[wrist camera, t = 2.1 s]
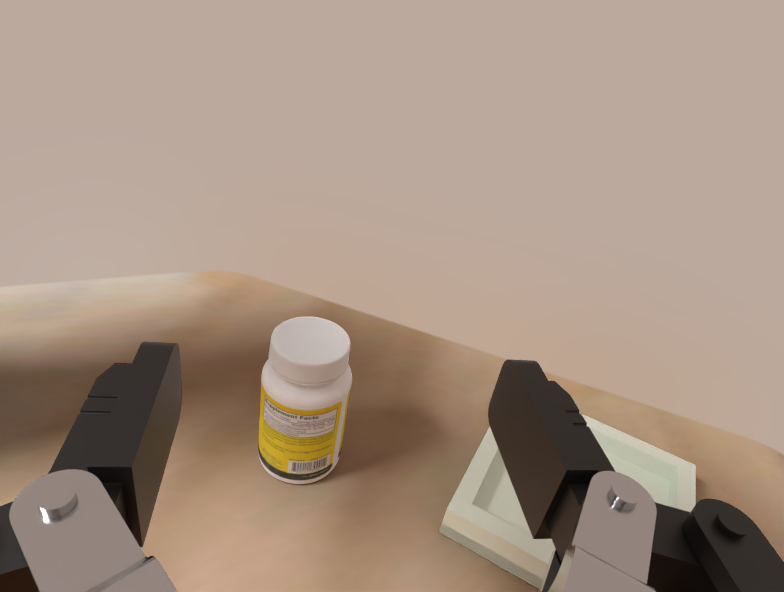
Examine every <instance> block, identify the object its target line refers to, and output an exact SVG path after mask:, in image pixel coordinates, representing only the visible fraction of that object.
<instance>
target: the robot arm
mask: <svg viewBox="0 0 784 592" xmlns="http://www.w3.org/2000/svg"><path fill="white" fill-rule="evenodd" d="M181 403H182V388H181V371H180V354H179V346H178V344H177V343H161V342H142V343H141V345H140V347H139V349H138V352H137V354H136V356H135V358H134V361H133V363H132V364H127V363H115V364H113V365H112V366H111V367H110V368H109V369H107V370H106V371H105V372H104V373H103V374H101V375H100V376H99V377H98V378H97V379H96V381H95V383H94V385H93V387H92V389H91V391H90V393H89V395H88V400H86V401H85V403H84V405H83V407H82V409H81V412H80V415H78V417H77V419H76V421H75V423H74V425H73V426H72V428H71V430H70V432H69V434H68V436H67V438H66V440H65V442H64V444H63V446H62V448H61V450H60V452H59V454H58V456H57V458H56V460H55V462H54V464H53V466H52V468H51V470H50V471H49V473H48V474H47V475H44V476H42V477H40V478H38V479H37V480H35V481H33V482H32V483H30V484H29V485H28V486H27V487H25V488H24V489H23V490H22V491H21V492H20V493H19V494H18V496H17V497H16V498H15V500H14V501H13V502H10V503H8V504H5V505H3V506H0V592H178V591H177V590H176V588H175V586H174V585H173V583H172V582H171V580H170V578H169V577H168V575H167V573H166V572H165V570H164V569H163V567H162V565H161V564H160V563H159V561H158V560H157V559H156V558H155V557H154V556H150V557H146V555H145V554H144V553H143V551H142V550H141V548H140V547H143V544H144V541H145V537H146V534H147V530H148V527H149V523H150V520H151V516H152V513H153V509H154V506H155V502H156V499H157V495H158V491H159V488H160V484H161V481H162V477H163V474H164V470H165V467H166V463H167V460H168V456H169V453H170V449H171V446H172V442H173V439H174V435H175V432H176V428H177V425H178V421H179V417H180V411H181ZM488 417H489V424H490V428H491V431H492V433H493V436H494V438H495V441H496V444H497V446H498V449H499V451H500V454H501V457H502V459H503V462H504V464H505V467H506V470H507V472H508V475H509V477H510V480H511V482H512V485H513V488H514V490H515V493H516V495H517V498H518V501H519V503H520V506H521V508H522V511H523V514H524V516H525V519H526V521H527V524H528V527H529V529H530V532H531V534H532V537H533V539H552V541H553V543H554V546H555V549H554V551H553V553H552V555H551V557H550V560H549V563H548V566H547V569H546V573H545V576H544V579H543V582H542V585H541V588H540V591H539V592H784V562H783V561H782V559H781V558H780V557H779V555H778V554H777V553H776V551H775V550H774V548H773V547H772V546H771V544H770V543H769V542H768V540H767V539H766V537H765V536H764V535H763V533H762V532H761V531H760V529H759V528H758V527H757V525H756V524H755V523H754V522H753V521H752V520H751V519H750V518H749V517H748V516H747V515H745V514H744V513H743V512H741V511H740V510H739V509H737V508H735V507H734V506H732V505H730V504H728V503H725V502H723V501H719V500H716V499H703V500H700V501H699V502H698V503H697V504H696V505H695V506H694V508H693V509H692V511H691V512H688V511H684V510H681V509H677V508H673V507H670V506H666V505H663V504H659V503H656V502H654V500H653V498H652V497H651V495H650V494H649V493H648V491H647V490H646V489H645V488H644V487H643V486H642V485H640V484H639V483H638V482H637V481H635V480H634V479H632V478H630V477H628V476H626V475H624V474H622V473H618V472H616V471H615V470H614V468H613V466H612V465H611V463H610V461H609V460H608V458H607V456H606V454H605V453H604V451H603V449H602V448H601V446H600V444H599V443H598V441H597V439H596V438H595V436H594V434H593V433H592V431H591V429H590V428H589V427H587V423H586V421H585V419H584V418H583V416H582V414H579V409H578V408H577V406H576V404H575V403H574V401H573V399H572V398H571V396H570V395H569V394H568V393H567V392H566V391H565V390H564V389H563V388H562V387H561V386H559V385H558V384H557V383H556V382H555V381H548V379H547V378H546V376H545V374H544V372H543V371H542V369H541V367H540V365H539V364H538V363H537V362H536V361H527V360H506V361H505V362H504V364H503V366H502V369H501V371H500V374H499V377H498V380H497V383H496V386H495V389H494V392H493V395H492V398H491V401H490V404H489V411H488Z"/></svg>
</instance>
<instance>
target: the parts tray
mask: <svg viewBox="0 0 784 592" xmlns="http://www.w3.org/2000/svg"><path fill="white" fill-rule="evenodd" d="M579 414H581V413H579ZM582 416H583V418H584V419H585V421H586V423H587V427H589V428H590V429H591V431H592V433H593V434H594V436H595V438H596V439H597V441H598V443H599V444H600V446H601V448H602V449H603V451H604V453H605V454H606V456H607V458H608V460H609V461H610V463H611V465H612V466H613V468H614V470H615V471H616V472H618V473H622V474H624V475H626V476H628V477H630V478H632V479H634V480H635V481H637V482H638V483H639V484H640V485H642V486H643V487H644V488H645V489H646V490H647V491H648V493H649V494H650V495H651V497H652V498H653V500H654V502H656V503H659V504H663V505H666V506H670V507H673V508H677V509H681V510H684V511H688V512H691V511H692V509H693V508H694V506H695V505H696V465H694V464H692V463H690V462H688V461H686V460H683V459H681V458H679V457H677V456H674V455H672V454H670V453H668V452H665V451H663V450H661V449H659V448H657V447H654V446H652V445H650V444H648V443H645V442H643V441H641V440H639V439H637V438H634V437H632V436H630V435H628V434H625V433H623V432H621V431H619V430H616V429H614V428H612V427H610V426H608V425H605V424H603V423H601V422H599V421H596V420H594V419H592V418H590V417H587V416H585V415H583V414H582ZM439 532H440V533H441V534H443V535H445V536H447V537H448V538H450V539H452V540H454V541H455V542H457V543H459V544H461V545H462V546H464V547H466V548H468V549H469V550H471V551H473V552H475V553H477V554H478V555H480V556H482V557H484V558H485V559H487V560H489V561H491V562H492V563H494V564H496V565H498V566H499V567H501V568H503V569H505V570H506V571H508V572H510V573H512V574H513V575H515V576H517V577H519V578H521V579H522V580H524V581H526V582H528V583H529V584H531V585H533V586H535V587H536V588H538V589H540V588H541V585H542V582H543V579H544V576H545V573H546V569H547V566H548V563H549V560H550V557H551V555H552V553H553V551H554V549H555V546H554V543H553V541H552V539H533V537H532V534H531V532H530V529H529V527H528V524H527V521H526V519H525V516H524V514H523V511H522V508H521V506H520V503H519V501H518V498H517V495H516V493H515V490H514V488H513V485H512V482H511V480H510V477H509V475H508V472H507V470H506V467H505V464H504V462H503V459H502V457H501V454H500V451H499V449H498V446H497V444H496V441H495V438H494V436H493V433H492V431H491V428H490V426H489V428H488V430H487V432H486V434H485V436H484V438H483V440H482V442H481V444H480V446H479V448H478V450H477V451H476V453H475V455H474V457H473V459H472V461H471V463H470V465H469V467H468V469H467V471H466V473H465V475H464V477H463V478H462V480H461V482H460V484H459V486H458V488H457V490H456V492H455V494H454V496H453V498H452V500H451V502H450V504H449V505H448V507H447V510H446V513H445V515H444V518H443V521H442V524H441V527H440V529H439Z"/></svg>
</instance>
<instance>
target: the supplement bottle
mask: <svg viewBox="0 0 784 592" xmlns="http://www.w3.org/2000/svg"><path fill="white" fill-rule="evenodd" d="M350 344H351V343H350V339H349V336H348V334H347V333H346V331H345V330H344V329H343V328H342V327H340V326H339V325H338V324H336V323H334V322H332V321H330V320H327V319H324V318H319V317H313V316H302V317H295V318H291V319H288V320H286V321H284V322H282V323H281V324H279V325H278V326H277V327H276V328H275V329H274V331H273V333H272V335H271V341H270V349H269V359H268V360H267V361H266V363H265V365H264V367H263V370H262V375H261V395H260V418H259V441H258V455H259V459H260V462H261V464H262V466H263V467H264V469H265V470H266V471H267V472H268V473H269V474H270V475H272V476H273V477H275V478H277V479H279V480H281V481H284V482H287V483H292V484H307V483H312V482H315V481H318V480H320V479H322V478H324V477H325V476H327V475H328V474H329V473H330V472H331V471H332V470H333V469H334V467H335V466H336V464H337V462H338V460H339V457H340V453H341V447H342V441H343V434H344V428H345V422H346V415H347V409H348V403H349V398H350V392H351V387H352V372H351V369H350V366H349V364H348V362H349V354H350Z"/></svg>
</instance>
